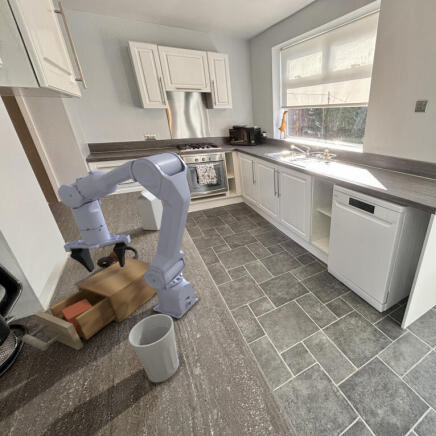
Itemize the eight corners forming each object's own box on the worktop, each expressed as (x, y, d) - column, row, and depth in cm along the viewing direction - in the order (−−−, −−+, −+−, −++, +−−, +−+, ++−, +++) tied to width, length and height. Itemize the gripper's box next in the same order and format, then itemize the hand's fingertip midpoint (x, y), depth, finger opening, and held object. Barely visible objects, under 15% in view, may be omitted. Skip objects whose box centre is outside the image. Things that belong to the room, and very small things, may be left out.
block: (99, 321, 62) (93, 306, 60) (75, 334, 58) (67, 319, 56) (91, 312, 65) (85, 298, 63) (68, 324, 61) (61, 310, 59)
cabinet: (119, 322, 64) (110, 296, 61) (87, 310, 68) (76, 285, 64) (162, 288, 77) (156, 264, 73) (133, 279, 81) (126, 256, 77)
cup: (188, 351, 57) (179, 313, 52) (174, 386, 50) (162, 346, 45) (154, 351, 57) (142, 314, 52) (135, 386, 50) (119, 347, 45)
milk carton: (166, 224, 119) (158, 187, 111) (157, 230, 113) (148, 192, 105) (153, 223, 120) (144, 186, 112) (143, 229, 113) (133, 191, 105)
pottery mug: (127, 256, 94) (133, 241, 91) (139, 273, 91) (145, 258, 87) (90, 264, 84) (95, 247, 80) (101, 284, 80) (107, 267, 77)
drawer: (56, 367, 52) (42, 344, 49) (24, 351, 55) (9, 328, 52) (130, 309, 68) (123, 289, 64) (101, 299, 71) (93, 279, 68)
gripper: (50, 236, 58) (70, 281, 64) (120, 228, 63) (133, 270, 68) (64, 224, 64) (81, 266, 70) (126, 217, 69) (138, 257, 74)
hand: (107, 267), depth 69 cm, fingers open, 7 cm apart
